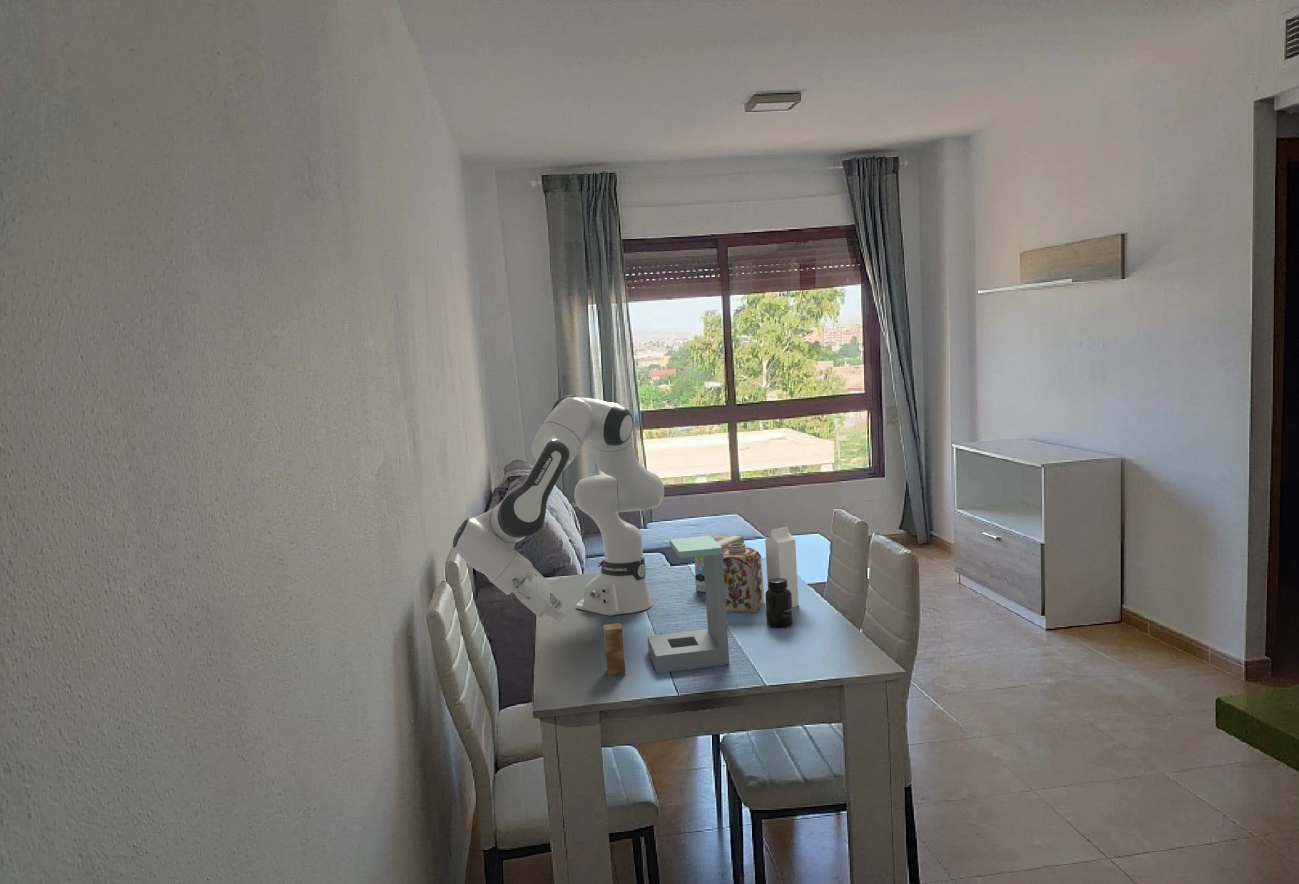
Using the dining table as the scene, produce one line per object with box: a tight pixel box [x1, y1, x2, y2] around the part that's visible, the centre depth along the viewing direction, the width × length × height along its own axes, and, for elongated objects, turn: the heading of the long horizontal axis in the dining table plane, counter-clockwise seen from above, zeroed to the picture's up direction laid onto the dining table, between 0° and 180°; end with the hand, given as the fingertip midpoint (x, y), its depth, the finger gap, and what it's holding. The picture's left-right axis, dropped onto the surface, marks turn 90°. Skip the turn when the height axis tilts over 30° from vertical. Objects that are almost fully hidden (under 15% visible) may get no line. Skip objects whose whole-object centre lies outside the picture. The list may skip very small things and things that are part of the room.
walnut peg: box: [602, 622, 626, 678], centre depth 202 cm, size 4×4×11 cm
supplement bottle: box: [764, 578, 794, 629], centre depth 229 cm, size 7×7×12 cm
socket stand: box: [647, 535, 730, 674], centre depth 208 cm, size 17×15×28 cm
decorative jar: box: [722, 542, 765, 614], centre depth 247 cm, size 12×12×18 cm
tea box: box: [694, 534, 745, 593], centre depth 269 cm, size 15×10×15 cm, turn 148°
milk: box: [764, 526, 800, 608], centre depth 245 cm, size 6×6×22 cm
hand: (561, 612), depth 200 cm, fingers open, 8 cm apart
